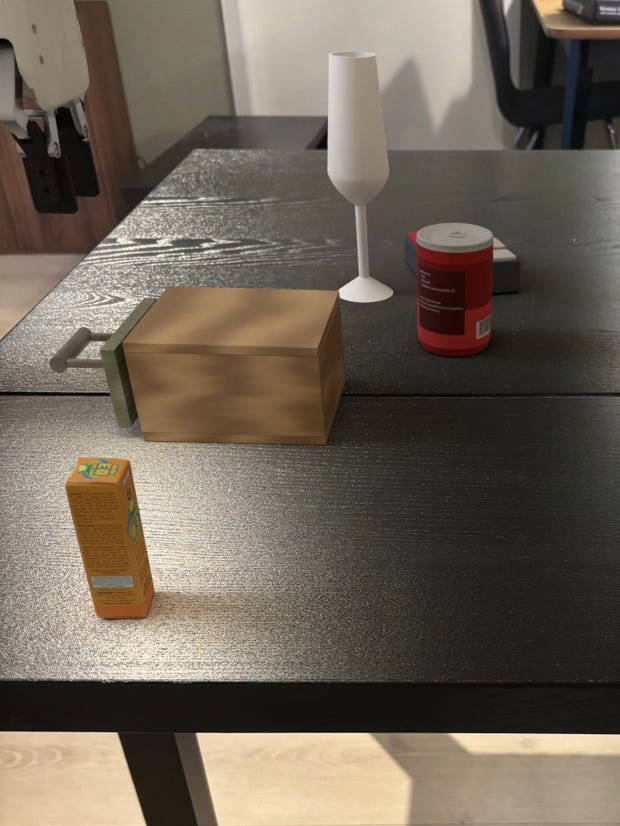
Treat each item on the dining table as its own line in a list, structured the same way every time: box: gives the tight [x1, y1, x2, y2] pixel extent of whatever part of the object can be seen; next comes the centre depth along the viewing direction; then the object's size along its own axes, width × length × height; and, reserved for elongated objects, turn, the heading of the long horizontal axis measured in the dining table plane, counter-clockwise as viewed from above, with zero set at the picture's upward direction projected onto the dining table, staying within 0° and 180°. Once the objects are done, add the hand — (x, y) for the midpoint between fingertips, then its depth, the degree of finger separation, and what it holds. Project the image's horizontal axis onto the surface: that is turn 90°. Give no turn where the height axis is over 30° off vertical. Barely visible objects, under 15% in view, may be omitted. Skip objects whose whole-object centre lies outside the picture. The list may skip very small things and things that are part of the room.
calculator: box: [403, 231, 522, 294], centre depth 115 cm, size 11×4×15 cm
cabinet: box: [122, 285, 347, 446], centre depth 83 cm, size 16×14×9 cm
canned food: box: [416, 222, 494, 357], centre depth 95 cm, size 8×8×11 cm
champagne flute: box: [326, 50, 394, 303], centre depth 103 cm, size 7×7×24 cm
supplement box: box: [64, 457, 155, 619], centre depth 59 cm, size 3×4×10 cm
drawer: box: [48, 297, 158, 428], centre depth 83 cm, size 20×12×7 cm, turn 89°
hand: (68, 201), depth 74 cm, fingers open, 4 cm apart
